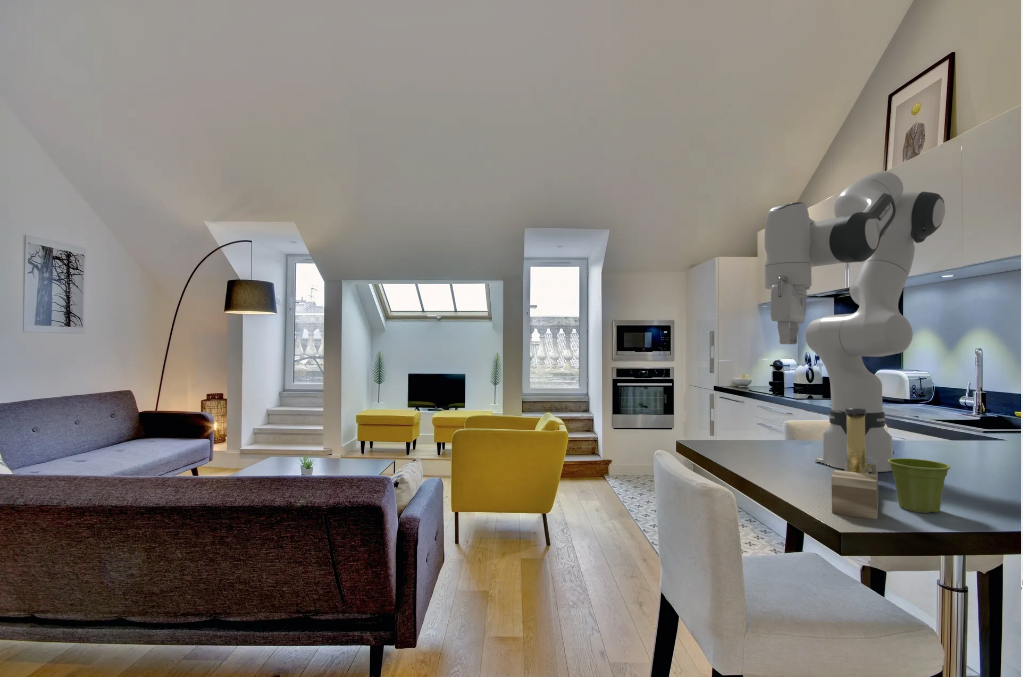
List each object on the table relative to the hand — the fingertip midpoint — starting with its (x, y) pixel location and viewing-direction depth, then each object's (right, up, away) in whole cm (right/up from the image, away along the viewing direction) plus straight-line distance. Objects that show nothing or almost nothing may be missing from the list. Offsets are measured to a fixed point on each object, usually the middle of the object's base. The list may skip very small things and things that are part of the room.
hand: (788, 344), depth 115 cm
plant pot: (+18, -31, -13) cm, 38 cm away
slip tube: (+10, -29, -7) cm, 32 cm away
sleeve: (+17, -31, +3) cm, 36 cm away
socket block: (+5, -31, -15) cm, 34 cm away
